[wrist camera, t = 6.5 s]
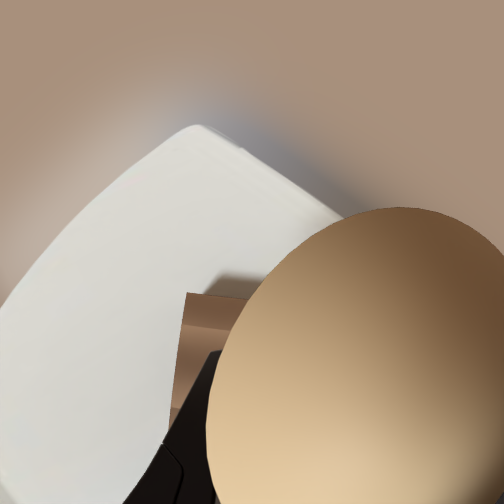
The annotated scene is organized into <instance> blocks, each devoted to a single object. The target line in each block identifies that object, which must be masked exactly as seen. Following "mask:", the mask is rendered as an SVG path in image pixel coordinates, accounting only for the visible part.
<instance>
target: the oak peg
mask: <svg viewBox="0 0 504 504" xmlns="http://www.w3.org/2000/svg"><path fill="white" fill-rule="evenodd" d="M206 443H207V458H208V463H209V468H210V473H211V477H212V482H213V485H214V488H215V490H216V493H217V495H218V498H219V500H220V502H221V504H495V503H496V502H497V500H498V499H499V498H500V496H501V495H502V494H503V492H504V256H503V255H502V253H501V252H500V251H499V250H498V249H497V248H496V247H495V246H494V245H493V244H492V243H491V242H490V241H488V240H487V239H486V238H485V237H484V236H482V235H481V234H480V233H478V232H477V231H475V230H474V229H473V228H471V227H469V226H468V225H466V224H464V223H462V222H460V221H458V220H456V219H454V218H451V217H449V216H446V215H443V214H441V213H438V212H433V211H429V210H424V209H419V208H404V207H395V208H384V209H376V210H372V211H368V212H363V213H359V214H355V215H353V216H351V217H348V218H345V219H343V220H341V221H338V222H336V223H333V224H332V225H330V226H328V227H326V228H325V229H323V230H321V231H319V232H318V233H316V234H314V235H313V236H311V237H310V238H308V239H307V240H306V241H304V242H303V243H302V244H301V245H299V246H298V247H297V248H295V249H294V250H293V251H292V252H290V253H289V254H288V255H287V256H286V257H285V258H284V259H283V260H282V261H281V262H280V263H279V264H278V265H277V266H276V267H275V268H274V269H273V270H272V271H271V272H270V273H269V274H268V275H267V277H266V278H265V279H264V281H263V282H262V283H261V285H260V286H259V287H258V288H257V290H256V291H255V292H254V294H253V295H252V296H251V298H250V299H249V300H248V302H247V304H246V305H245V307H244V309H243V310H242V312H241V314H240V316H239V317H238V319H237V321H236V323H235V324H234V326H233V328H232V329H231V332H230V334H229V337H228V339H227V341H226V344H225V346H224V349H223V351H222V353H221V356H220V358H219V361H218V364H217V368H216V371H215V375H214V379H213V383H212V386H211V390H210V395H209V403H208V411H207V420H206Z"/></svg>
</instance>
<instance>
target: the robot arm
mask: <svg viewBox="0 0 504 504" xmlns="http://www.w3.org/2000/svg"><path fill="white" fill-rule="evenodd" d="M222 351H223V349H220V350H215V351H211V352H210V353H209V354H208V356H207V358H206V360H205V362H204V364H203V366H202V368H201V370H200V372H199V374H198V375H197V377H196V379H195V381H194V383H193V385H192V387H191V389H190V391H189V393H188V395H187V396H186V398H185V400H184V402H183V404H182V406H181V408H180V410H179V412H178V413H177V415H176V417H175V419H174V421H173V423H172V425H171V427H170V429H169V430H168V432H167V434H166V436H165V438H164V440H163V442H162V443H163V444H161V445H160V447H159V449H158V451H157V453H156V455H155V456H154V458H153V460H152V461H151V463H150V465H149V467H148V468H147V470H146V472H145V473H144V475H143V476H142V477H141V479H140V480H139V482H138V483H137V485H136V486H135V488H134V489H133V490H132V492H131V493H130V494H129V496H128V497H127V498H126V500H125V501H124V502H123V504H221V502H220V500H219V498H218V495H217V493H216V490H215V488H214V485H213V482H212V477H211V473H210V468H209V463H208V458H207V443H206V420H207V411H208V403H209V395H210V390H211V386H212V383H213V379H214V375H215V371H216V368H217V364H218V361H219V358H220V356H221V353H222ZM495 504H504V492H503V494H502V495H501V496H500V498H499V499H498V500H497V502H496V503H495Z"/></svg>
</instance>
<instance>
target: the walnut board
mask: <svg viewBox="0 0 504 504" xmlns="http://www.w3.org/2000/svg"><path fill="white" fill-rule="evenodd" d="M247 302H248V299H239V298H229V297H221V296H212V295H204V294H196V293H188V292H187V294H186V300H185V306H184V312H183V319H182V325H181V332H180V338H179V345H178V352H177V360H176V367H175V375H174V383H173V391H172V400H171V409H170V419H169V429H170V427H171V425H172V423H173V421H174V419H175V417H176V415H177V413H178V412H179V410H180V408H181V406H182V404H183V402H184V400H185V398H186V396H187V395H188V393H189V391H190V389H191V387H192V385H193V383H194V381H195V379H196V377H197V375H198V374H199V372H200V370H201V368H202V366H203V364H204V362H205V360H206V358H207V356H208V354H209V353H210V352H211V351H215V350H220V349H224V346H225V344H226V341H227V339H228V337H229V334H230V332H231V329H232V328H233V326H234V324H235V323H236V321H237V319H238V317H239V316H240V314H241V312H242V310H243V309H244V307H245V305H246V304H247ZM169 429H168V430H169Z"/></svg>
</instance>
